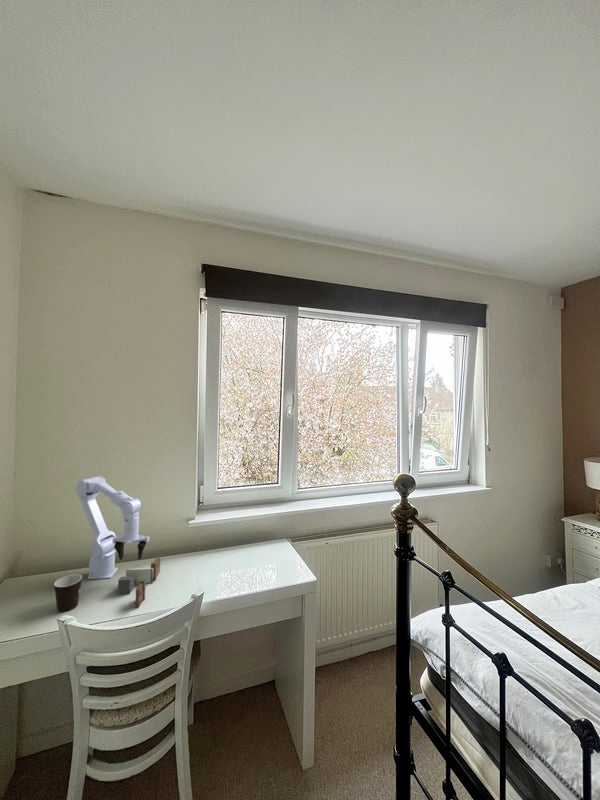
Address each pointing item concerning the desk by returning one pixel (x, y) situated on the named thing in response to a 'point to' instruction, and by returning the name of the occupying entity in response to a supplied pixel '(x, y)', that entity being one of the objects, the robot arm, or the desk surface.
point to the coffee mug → (67, 592)
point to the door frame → (141, 587)
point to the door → (141, 574)
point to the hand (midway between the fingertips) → (130, 558)
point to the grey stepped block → (126, 585)
